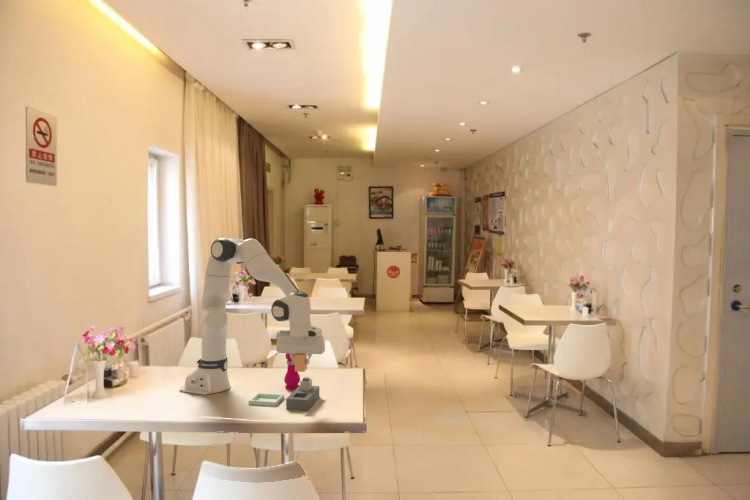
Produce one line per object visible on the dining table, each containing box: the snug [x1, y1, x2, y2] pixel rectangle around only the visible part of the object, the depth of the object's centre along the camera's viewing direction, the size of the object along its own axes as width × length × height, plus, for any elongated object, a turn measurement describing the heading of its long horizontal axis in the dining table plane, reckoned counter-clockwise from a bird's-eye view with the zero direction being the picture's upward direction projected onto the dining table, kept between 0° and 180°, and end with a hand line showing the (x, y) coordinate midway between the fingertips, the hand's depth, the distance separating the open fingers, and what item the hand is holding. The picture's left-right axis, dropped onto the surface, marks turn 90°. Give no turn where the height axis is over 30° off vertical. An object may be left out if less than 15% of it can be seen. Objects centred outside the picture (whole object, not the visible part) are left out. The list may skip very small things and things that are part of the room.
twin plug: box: [299, 376, 313, 391], centre depth 216 cm, size 4×4×8 cm
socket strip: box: [285, 384, 320, 413], centre depth 212 cm, size 9×18×5 cm, turn 171°
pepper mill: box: [283, 353, 301, 391], centre depth 231 cm, size 7×7×20 cm
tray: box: [248, 392, 285, 407], centre depth 213 cm, size 12×10×2 cm
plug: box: [295, 353, 308, 373], centre depth 207 cm, size 4×4×8 cm
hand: (300, 363), depth 207 cm, fingers closed on plug, 4 cm apart
